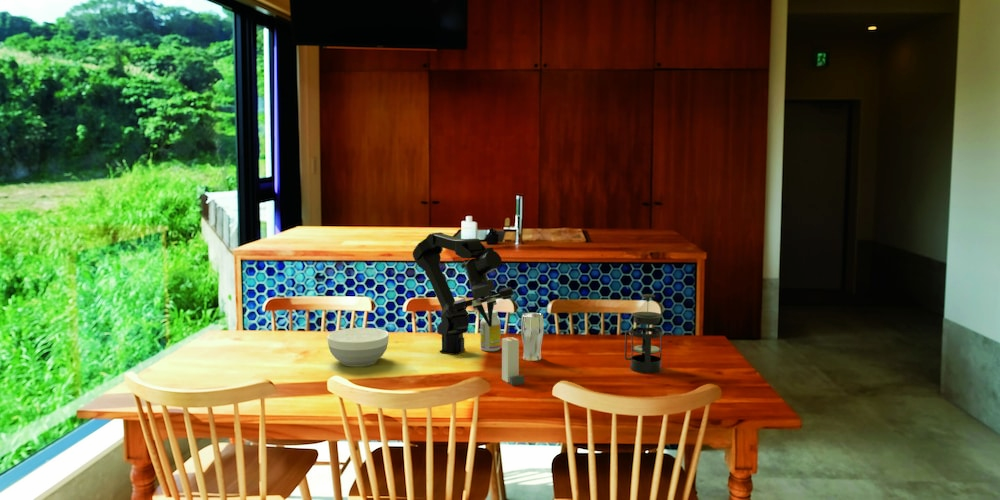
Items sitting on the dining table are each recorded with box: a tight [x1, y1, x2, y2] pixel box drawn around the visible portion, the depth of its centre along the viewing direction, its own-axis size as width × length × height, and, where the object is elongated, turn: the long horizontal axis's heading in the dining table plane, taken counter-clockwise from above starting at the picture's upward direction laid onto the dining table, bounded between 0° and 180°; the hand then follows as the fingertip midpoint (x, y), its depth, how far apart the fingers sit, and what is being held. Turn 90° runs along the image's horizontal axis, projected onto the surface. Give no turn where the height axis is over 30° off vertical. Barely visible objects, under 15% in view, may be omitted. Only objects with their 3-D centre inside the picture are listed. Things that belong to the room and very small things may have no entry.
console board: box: [509, 374, 525, 387], centre depth 241 cm, size 20×14×3 cm
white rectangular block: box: [501, 336, 520, 383], centre depth 237 cm, size 4×4×12 cm
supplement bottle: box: [479, 309, 502, 352], centre depth 275 cm, size 7×7×13 cm
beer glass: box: [520, 312, 544, 362], centre depth 260 cm, size 7×7×15 cm
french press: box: [624, 293, 663, 374], centre depth 252 cm, size 12×9×23 cm
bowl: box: [326, 327, 390, 368], centre depth 259 cm, size 19×19×9 cm
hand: (490, 326), depth 255 cm, fingers closed
